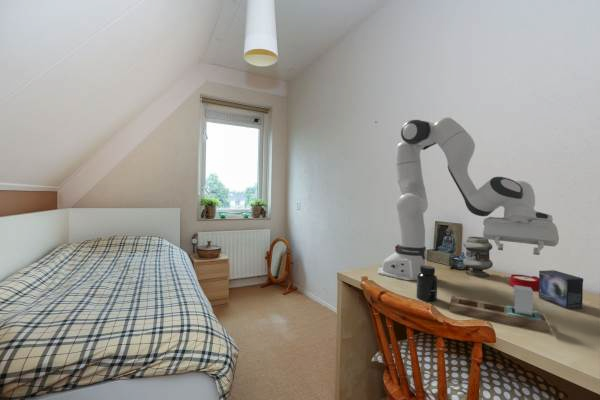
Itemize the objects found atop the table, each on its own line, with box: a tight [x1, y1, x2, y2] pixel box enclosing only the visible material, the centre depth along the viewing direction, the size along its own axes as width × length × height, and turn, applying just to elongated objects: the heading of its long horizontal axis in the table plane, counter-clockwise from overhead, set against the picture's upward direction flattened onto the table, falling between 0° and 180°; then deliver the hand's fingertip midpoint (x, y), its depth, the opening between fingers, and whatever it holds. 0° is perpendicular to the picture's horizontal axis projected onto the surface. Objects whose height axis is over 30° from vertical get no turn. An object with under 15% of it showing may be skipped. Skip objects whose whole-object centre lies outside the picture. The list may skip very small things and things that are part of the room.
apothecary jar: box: [462, 235, 494, 278], centre depth 135 cm, size 12×12×18 cm
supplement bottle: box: [416, 265, 439, 303], centre depth 101 cm, size 7×7×12 cm
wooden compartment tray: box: [448, 295, 549, 333], centre depth 87 cm, size 24×9×3 cm, turn 57°
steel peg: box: [513, 285, 534, 317], centre depth 83 cm, size 4×4×10 cm
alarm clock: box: [503, 274, 539, 292], centre depth 117 cm, size 10×6×15 cm
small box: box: [538, 269, 584, 310], centre depth 100 cm, size 11×6×10 cm, turn 5°
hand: (517, 251), depth 92 cm, fingers open, 8 cm apart
